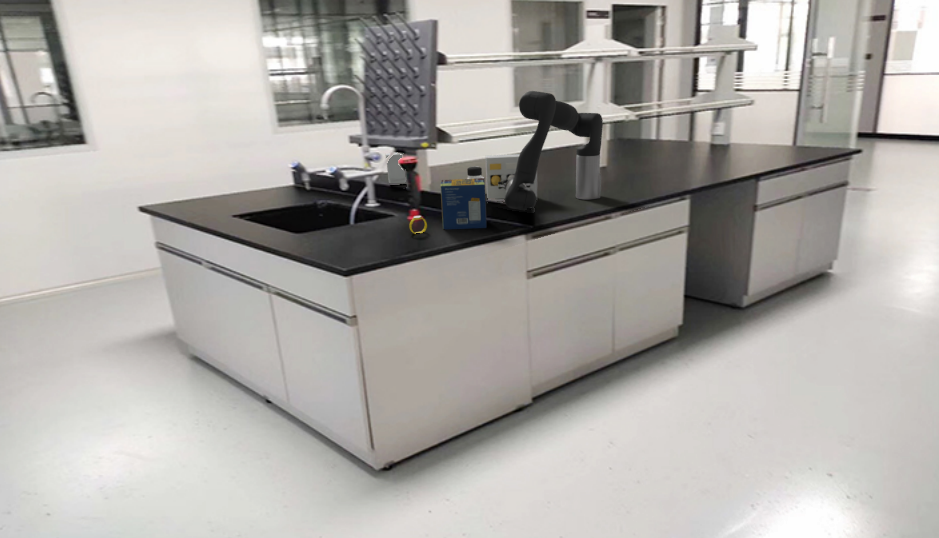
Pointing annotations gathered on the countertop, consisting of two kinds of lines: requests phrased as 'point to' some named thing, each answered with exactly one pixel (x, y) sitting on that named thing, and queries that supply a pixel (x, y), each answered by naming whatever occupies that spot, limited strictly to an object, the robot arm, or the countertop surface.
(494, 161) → the panel
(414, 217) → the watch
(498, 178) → the amber button
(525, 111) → the robot arm
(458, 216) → the protein box
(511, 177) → the white button
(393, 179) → the grey shouldered block
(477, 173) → the medicine bottle
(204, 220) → the countertop surface
